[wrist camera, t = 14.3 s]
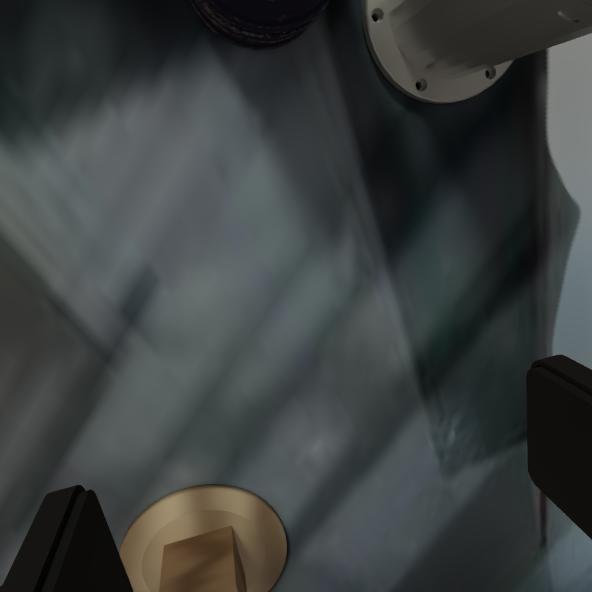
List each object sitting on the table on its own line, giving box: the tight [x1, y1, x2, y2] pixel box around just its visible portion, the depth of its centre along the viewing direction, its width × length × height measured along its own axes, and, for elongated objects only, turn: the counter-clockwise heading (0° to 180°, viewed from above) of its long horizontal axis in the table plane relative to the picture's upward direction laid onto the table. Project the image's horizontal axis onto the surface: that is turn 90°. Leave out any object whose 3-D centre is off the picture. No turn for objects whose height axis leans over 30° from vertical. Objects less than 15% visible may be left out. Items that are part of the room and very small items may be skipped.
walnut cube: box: [159, 526, 247, 592], centre depth 38 cm, size 6×6×6 cm
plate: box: [119, 484, 287, 592], centre depth 41 cm, size 15×15×1 cm
